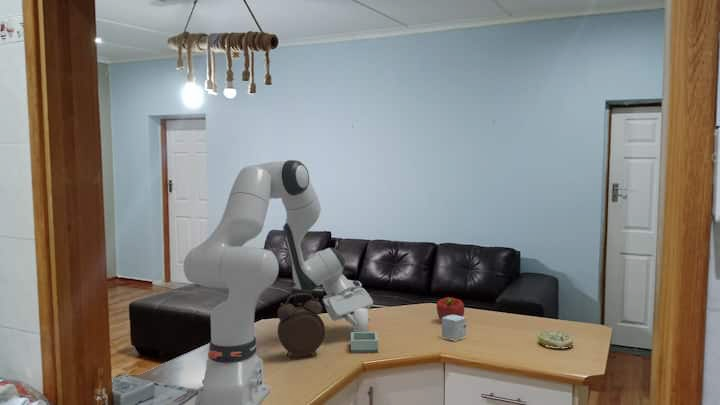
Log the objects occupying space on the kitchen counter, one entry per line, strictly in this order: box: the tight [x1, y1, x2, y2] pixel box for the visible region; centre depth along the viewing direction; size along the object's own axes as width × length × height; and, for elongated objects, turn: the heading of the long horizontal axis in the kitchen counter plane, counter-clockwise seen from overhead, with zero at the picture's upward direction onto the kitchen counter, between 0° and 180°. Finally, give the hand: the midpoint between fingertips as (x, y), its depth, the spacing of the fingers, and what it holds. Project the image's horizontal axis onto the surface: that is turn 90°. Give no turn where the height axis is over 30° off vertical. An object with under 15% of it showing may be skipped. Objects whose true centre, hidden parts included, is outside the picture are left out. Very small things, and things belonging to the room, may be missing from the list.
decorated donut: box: [537, 330, 574, 348], centre depth 173 cm, size 10×11×4 cm
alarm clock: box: [276, 292, 326, 359], centre depth 165 cm, size 14×7×20 cm, turn 111°
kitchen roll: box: [352, 308, 369, 332], centre depth 181 cm, size 5×5×10 cm
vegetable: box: [436, 296, 465, 322], centre depth 198 cm, size 11×10×10 cm
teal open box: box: [350, 331, 379, 354], centre depth 172 cm, size 9×9×4 cm
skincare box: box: [441, 314, 467, 340], centre depth 181 cm, size 6×6×7 cm
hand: (362, 323), depth 181 cm, fingers closed on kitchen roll, 5 cm apart
